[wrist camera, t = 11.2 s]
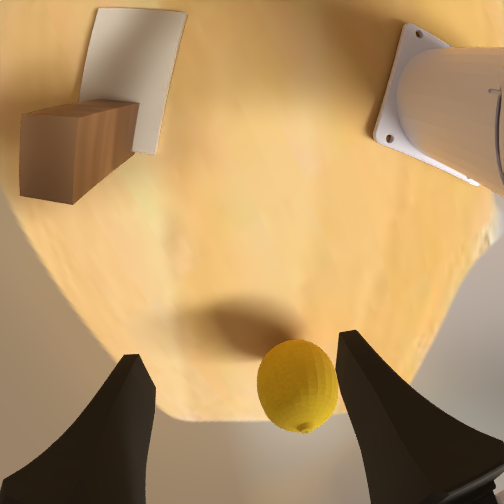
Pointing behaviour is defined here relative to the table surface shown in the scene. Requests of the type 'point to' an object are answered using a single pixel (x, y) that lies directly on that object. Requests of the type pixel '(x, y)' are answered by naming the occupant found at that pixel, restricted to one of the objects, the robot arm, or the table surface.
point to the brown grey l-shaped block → (104, 106)
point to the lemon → (297, 386)
